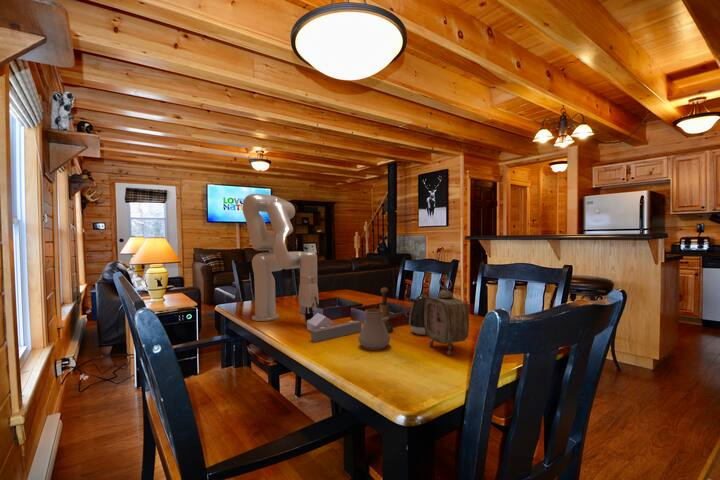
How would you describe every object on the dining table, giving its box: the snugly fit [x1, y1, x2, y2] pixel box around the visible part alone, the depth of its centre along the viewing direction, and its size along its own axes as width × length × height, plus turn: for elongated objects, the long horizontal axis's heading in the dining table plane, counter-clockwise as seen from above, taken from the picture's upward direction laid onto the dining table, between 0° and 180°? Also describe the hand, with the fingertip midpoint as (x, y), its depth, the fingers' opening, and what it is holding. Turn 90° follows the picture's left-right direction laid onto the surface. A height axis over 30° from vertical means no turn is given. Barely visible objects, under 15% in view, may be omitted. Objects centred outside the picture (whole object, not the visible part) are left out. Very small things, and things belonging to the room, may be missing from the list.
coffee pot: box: [357, 308, 411, 351], centre depth 120 cm, size 21×12×15 cm, turn 44°
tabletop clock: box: [424, 276, 470, 356], centre depth 119 cm, size 14×9×25 cm, turn 22°
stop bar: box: [310, 320, 362, 344], centre depth 137 cm, size 3×22×5 cm, turn 129°
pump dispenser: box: [408, 294, 428, 336], centre depth 140 cm, size 10×10×15 cm
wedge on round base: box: [306, 312, 336, 332], centre depth 147 cm, size 9×7×13 cm
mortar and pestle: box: [379, 286, 394, 334], centre depth 144 cm, size 7×6×18 cm
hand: (309, 321), depth 154 cm, fingers closed
